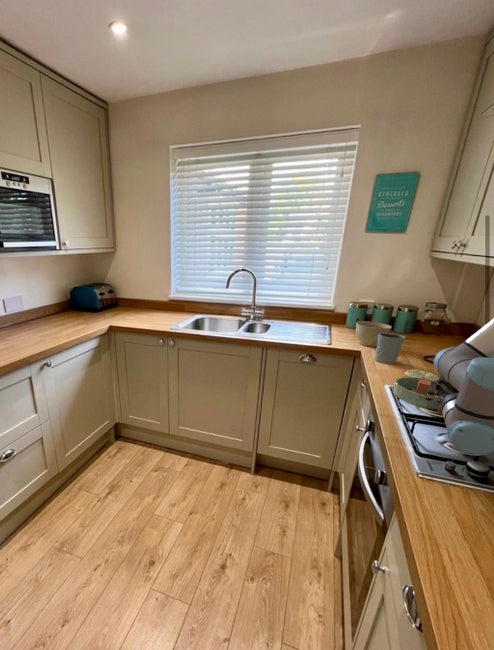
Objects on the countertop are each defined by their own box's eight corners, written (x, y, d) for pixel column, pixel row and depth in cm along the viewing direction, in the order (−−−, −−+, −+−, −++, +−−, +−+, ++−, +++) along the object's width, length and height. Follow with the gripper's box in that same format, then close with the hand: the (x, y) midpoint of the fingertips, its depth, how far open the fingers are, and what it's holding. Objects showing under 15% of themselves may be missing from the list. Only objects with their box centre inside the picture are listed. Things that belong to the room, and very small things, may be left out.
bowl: (452, 395, 116) (456, 384, 114) (460, 417, 101) (465, 404, 100) (392, 384, 125) (395, 373, 123) (392, 402, 110) (395, 390, 108)
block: (430, 393, 116) (434, 381, 114) (431, 397, 113) (435, 386, 111) (415, 390, 118) (418, 379, 117) (415, 394, 115) (419, 383, 113)
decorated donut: (417, 375, 134) (420, 367, 132) (443, 386, 124) (446, 377, 123) (397, 378, 131) (399, 369, 129) (422, 388, 121) (425, 379, 120)
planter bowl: (386, 350, 165) (391, 329, 161) (350, 345, 173) (354, 325, 169) (386, 343, 178) (391, 323, 174) (354, 338, 186) (358, 319, 182)
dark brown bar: (449, 414, 95) (464, 363, 93) (452, 416, 92) (467, 363, 90) (436, 411, 97) (450, 361, 95) (438, 412, 94) (452, 361, 92)
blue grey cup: (369, 360, 151) (375, 334, 146) (376, 355, 158) (382, 331, 153) (394, 366, 144) (401, 339, 140) (400, 360, 151) (407, 335, 147)
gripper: (417, 416, 84) (412, 386, 103) (500, 435, 77) (479, 399, 96) (425, 389, 82) (419, 363, 101) (512, 407, 74) (488, 375, 93)
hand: (448, 381), depth 98 cm, fingers closed on dark brown bar, 3 cm apart
